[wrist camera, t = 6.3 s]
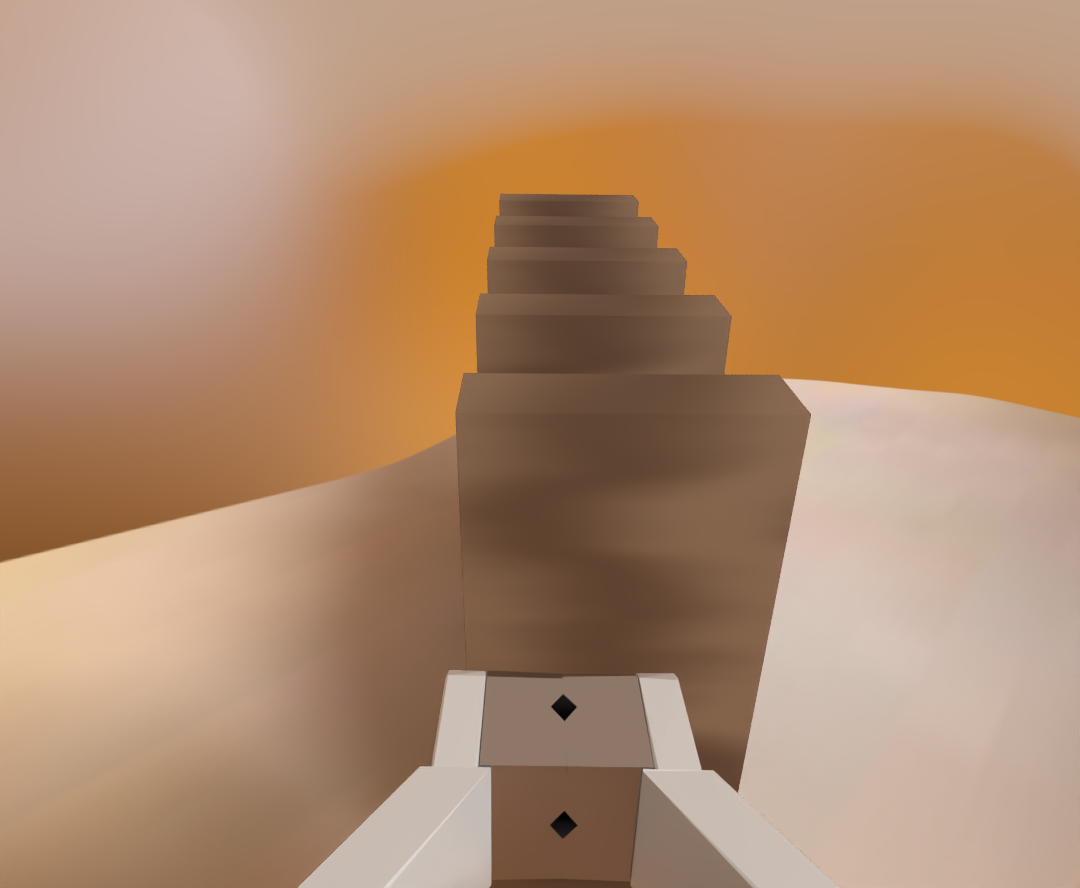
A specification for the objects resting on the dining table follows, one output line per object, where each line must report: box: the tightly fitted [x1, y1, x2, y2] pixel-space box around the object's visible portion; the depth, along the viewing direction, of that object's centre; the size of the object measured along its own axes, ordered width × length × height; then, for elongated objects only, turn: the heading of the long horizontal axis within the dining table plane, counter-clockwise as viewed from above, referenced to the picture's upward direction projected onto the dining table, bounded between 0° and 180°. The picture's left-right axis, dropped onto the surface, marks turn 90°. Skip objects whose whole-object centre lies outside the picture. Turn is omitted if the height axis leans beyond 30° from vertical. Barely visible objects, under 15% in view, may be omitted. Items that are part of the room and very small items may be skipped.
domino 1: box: [499, 194, 639, 217], centre depth 36 cm, size 6×2×15 cm, turn 91°
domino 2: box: [494, 216, 658, 248], centre depth 32 cm, size 6×2×15 cm, turn 91°
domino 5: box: [456, 373, 811, 888], centre depth 17 cm, size 6×2×15 cm, turn 91°
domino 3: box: [487, 247, 687, 295], centre depth 27 cm, size 6×2×15 cm, turn 91°
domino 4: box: [476, 294, 732, 375], centre depth 22 cm, size 6×2×15 cm, turn 91°
